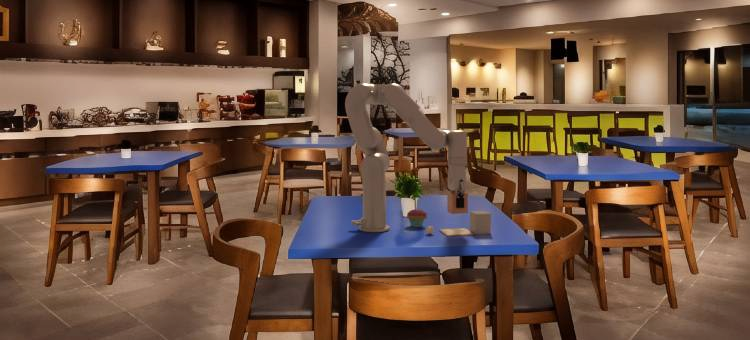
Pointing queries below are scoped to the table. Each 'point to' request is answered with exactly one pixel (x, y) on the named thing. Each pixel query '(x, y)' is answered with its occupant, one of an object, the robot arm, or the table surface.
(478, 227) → the beige block
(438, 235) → the table surface
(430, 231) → the cream marble
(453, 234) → the birch board
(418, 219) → the cupcake
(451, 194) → the peach colored cube
